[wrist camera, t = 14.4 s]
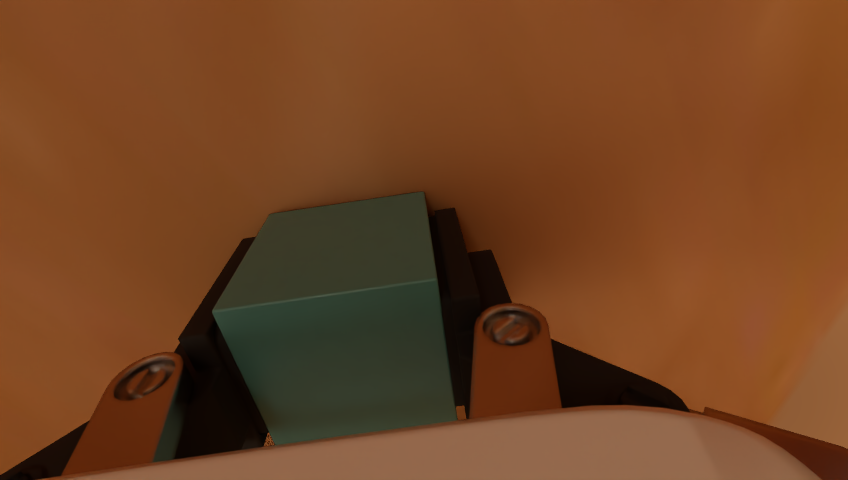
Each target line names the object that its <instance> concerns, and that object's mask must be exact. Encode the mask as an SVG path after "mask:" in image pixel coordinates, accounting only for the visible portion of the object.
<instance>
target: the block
mask: <svg viewBox="0 0 848 480" xmlns="http://www.w3.org/2000/svg"><path fill="white" fill-rule="evenodd" d="M212 313H213V315H214V318H215V320H216V322H217V324H218V326H219V328H220V330H221V332H222V334H223V336H224V339H225V341H226V343H227V345H228V347H229V349H230V351H231V353H232V355H233V357H234V360H235V362H236V364H237V366H238V368H239V370H240V372H241V374H242V376H243V378H244V381H245V383H246V385H247V387H248V389H249V391H250V393H251V395H252V397H253V399H254V402H255V404H256V406H257V408H258V410H259V412H260V414H261V416H262V418H263V420H264V423H265V425H266V427H267V429H268V431H269V433H270V435H271V437H272V439H273V441H274V444H275V445H281V444H288V443H295V442H302V441H310V440H317V439H324V438H331V437H339V436H346V435H353V434H361V433H368V432H376V431H383V430H391V429H398V428H406V427H413V426H421V425H428V424H435V423H443V422H450V421H458V418H457V411H456V406H455V401H454V394H453V387H452V380H451V373H450V367H449V360H448V353H447V346H446V339H445V332H444V325H443V318H442V307H441V300H440V293H439V286H438V279H437V272H436V266H435V259H434V253H433V246H432V239H431V233H430V226H429V220H428V213H427V207H426V200H425V193H424V192H416V193H409V194H402V195H395V196H389V197H382V198H375V199H368V200H362V201H355V202H348V203H341V204H334V205H328V206H321V207H314V208H307V209H300V210H294V211H287V212H280V213H273V214H270V215H269V216H268V218H267V220H266V221H265V223H264V225H263V226H262V228H261V230H260V231H259V233H258V235H257V236H256V238H255V240H254V241H253V243H252V245H251V246H250V248H249V250H248V251H247V253H246V255H245V256H244V258H243V260H242V262H241V263H240V265H239V267H238V268H237V270H236V272H235V273H234V275H233V277H232V278H231V280H230V282H229V283H228V285H227V287H226V288H225V290H224V292H223V293H222V295H221V297H220V298H219V300H218V302H217V303H216V305H215V307H214V308H213V310H212Z"/></svg>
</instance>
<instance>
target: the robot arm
mask: <svg viewBox="0 0 848 480" xmlns="http://www.w3.org/2000/svg"><path fill="white" fill-rule="evenodd" d="M428 220H429V226H430V233H431V239H432V246H433V253H434V259H435V266H436V272H437V279H438V286H439V293H440V300H441V307H442V318H443V325H444V332H445V339H446V346H447V353H448V360H449V367H450V373H451V380H452V387H453V394H454V401H455V406H462V405H464V407H465V412H466V418H467V419H465V420H458V421H450V422H443V423H435V424H428V425H421V426H413V427H406V428H398V429H391V430H383V431H376V432H368V433H361V434H353V435H346V436H339V437H331V438H324V439H317V440H310V441H302V442H295V443H288V444H281V445H274V446H266V447H264V443H265V440H266V437H267V433H269V431H268V429H267V427H266V425H265V423H264V420H263V418H262V416H261V414H260V412H259V410H258V408H257V406H256V404H255V402H254V399H253V397H252V395H251V393H250V391H249V389H248V387H247V385H246V383H245V381H244V378H243V376H242V374H241V372H240V370H239V368H238V366H237V364H236V362H235V360H234V357H233V355H232V353H231V351H230V349H229V347H228V345H227V343H226V341H225V339H224V336H223V334H222V332H221V330H220V328H219V326H218V324H217V322H216V320H215V318H214V315H213V313H212V310H213V308H214V307H215V305H216V303H217V302H218V300H219V298H220V297H221V295H222V293H223V292H224V290H225V288H226V287H227V285H228V283H229V282H230V280H231V278H232V277H233V275H234V273H235V272H236V270H237V268H238V267H239V265H240V263H241V262H242V260H243V258H244V256H245V255H246V253H247V251H248V250H249V248H250V246H251V245H252V243H253V241H254V240H255V238H256V237H252V238H245V239H243V240H242V241H241V242H240V244H239V246H238V247H237V249H236V250H235V252H234V253H233V255H232V256H231V258H230V259H229V261H228V262H227V264H226V266H225V267H224V269H223V270H222V272H221V273H220V275H219V276H218V278H217V279H216V281H215V283H214V284H213V286H212V287H211V289H210V290H209V292H208V293H207V295H206V296H205V298H204V299H203V301H202V303H201V304H200V306H199V307H198V309H197V310H196V312H195V313H194V315H193V316H192V318H191V320H190V321H189V323H188V324H187V326H186V327H185V329H184V330H183V332H182V333H181V335H180V336H179V338H178V340H179V341H180V344H179V345H178V347H177V348H176V350H175V352H174V353H173V352H162V353H157V354H153V355H150V356H147V357H144V358H142V359H140V360H138V361H136V362H134V363H132V364H131V365H129V366H128V367H127V368H125V369H124V370H122V371H121V372H120V373H119V374H118V375H117V376H116V377H115V378H114V379H113V380H112V381H111V382H110V384H109V385H108V387H107V388H106V390H105V392H104V394H103V396H102V397H101V399H100V401H99V403H98V405H97V407H96V409H95V411H94V413H93V415H92V417H91V419H90V420H89V421H88V422H86V423H85V424H83V425H81V426H80V427H78V428H76V429H75V430H73V431H72V432H70V433H68V434H67V435H65V436H63V437H62V438H60V439H59V440H57V441H55V442H54V443H52V444H50V445H49V446H47V447H46V448H44V449H42V450H41V451H39V452H37V453H36V454H34V455H33V456H31V457H29V458H28V459H26V460H25V461H23V462H21V463H20V464H18V465H16V466H15V467H13V468H12V469H10V470H8V471H7V472H5V473H3V474H2V475H0V480H848V449H846V448H844V447H841V446H838V445H835V444H831V443H828V442H825V441H821V440H818V439H814V438H810V437H808V436H804V435H801V434H797V433H794V432H790V431H787V430H783V429H780V428H777V427H773V426H770V425H766V424H763V423H759V422H756V421H753V420H749V419H746V418H742V417H739V416H735V415H732V414H728V413H725V412H722V411H718V410H715V409H711V408H708V407H705V408H704V412H703V413H701V412H698V411H694V410H691V409H688V408H687V406H686V405H685V404H684V402H683V401H682V399H680V398H679V397H678V396H677V395H676V394H674V393H673V392H672V391H671V390H669V389H667V388H666V387H664V386H662V385H660V384H658V383H656V382H653V381H651V380H649V379H646V378H644V377H641V376H639V375H637V374H634V373H632V372H629V371H627V370H624V369H622V368H620V367H617V366H615V365H612V364H610V363H608V362H605V361H603V360H600V359H598V358H596V357H593V356H591V355H588V354H586V353H583V352H581V351H579V350H576V349H574V348H571V347H569V346H567V345H564V344H562V343H559V342H557V341H554V340H552V339H551V338H550V332H549V326H548V323H547V321H546V318H545V317H544V316H543V315H542V314H541V313H540V312H539V311H537V310H536V309H534V308H532V307H530V306H526V305H523V304H517V303H512V302H511V299H510V297H509V294H508V291H507V289H506V286H505V284H504V281H503V278H502V276H501V273H500V271H499V268H498V266H497V263H496V260H495V258H494V255H493V253H492V251H491V250H484V251H477V252H470V253H467V249H466V246H465V243H464V239H463V236H462V232H461V229H460V225H459V222H458V218H457V215H456V211H455V208H449V209H443V210H436V211H435V216H431V217H428Z"/></svg>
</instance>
